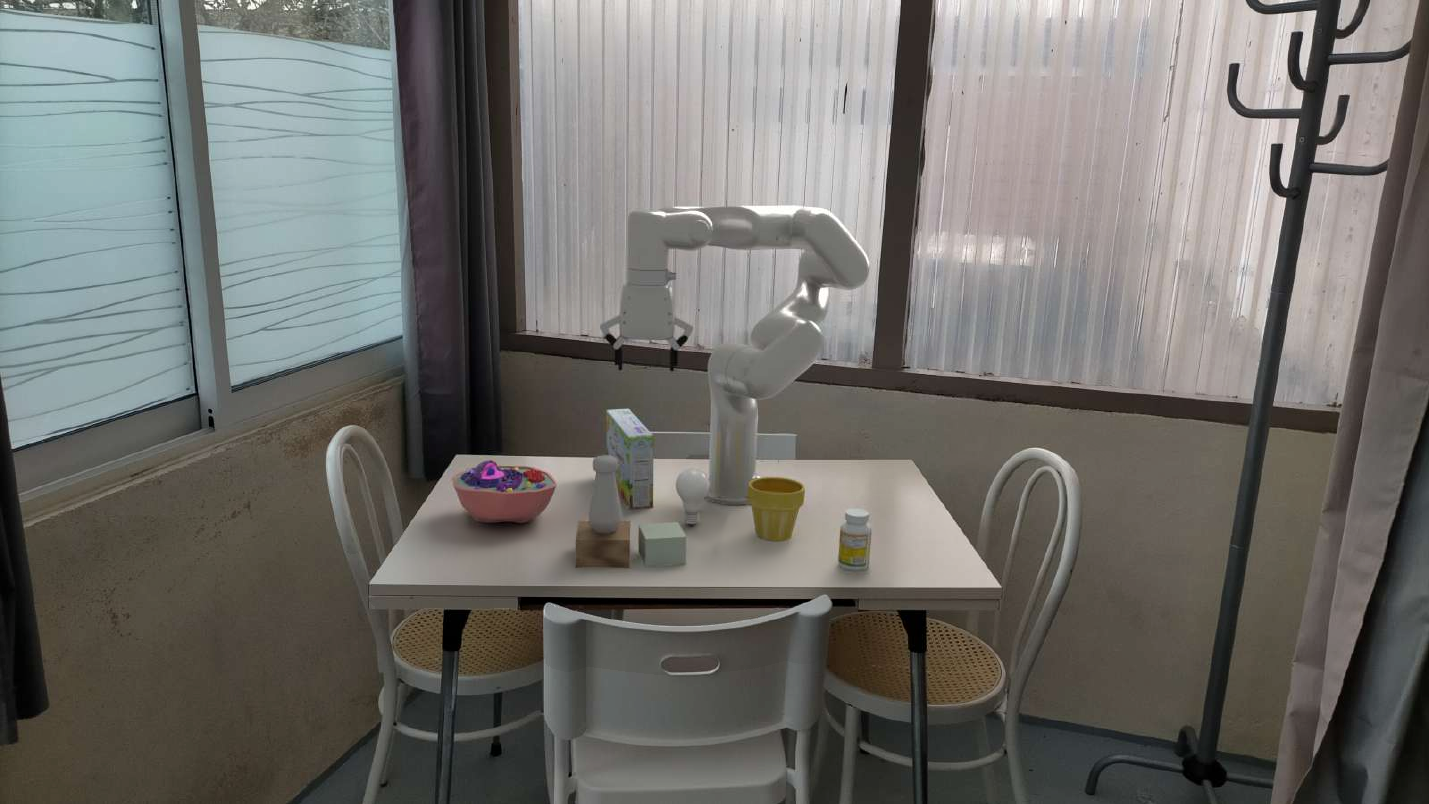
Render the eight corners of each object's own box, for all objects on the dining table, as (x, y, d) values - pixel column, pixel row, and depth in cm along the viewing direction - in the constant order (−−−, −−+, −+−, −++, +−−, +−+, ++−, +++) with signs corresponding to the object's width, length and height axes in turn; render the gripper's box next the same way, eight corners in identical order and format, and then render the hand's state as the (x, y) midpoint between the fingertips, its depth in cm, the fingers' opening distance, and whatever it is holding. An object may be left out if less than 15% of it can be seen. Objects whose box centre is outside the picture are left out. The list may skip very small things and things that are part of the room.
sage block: (677, 548, 181) (677, 522, 180) (685, 564, 175) (686, 536, 173) (638, 551, 179) (638, 524, 178) (645, 566, 173) (645, 539, 172)
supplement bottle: (858, 573, 173) (861, 520, 171) (831, 565, 176) (835, 512, 174) (874, 564, 177) (878, 512, 175) (848, 556, 180) (852, 505, 178)
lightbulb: (669, 521, 195) (671, 465, 192) (700, 517, 197) (702, 462, 194) (682, 532, 189) (683, 475, 186) (713, 528, 191) (715, 472, 189)
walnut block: (629, 547, 181) (630, 521, 180) (629, 567, 172) (629, 540, 171) (578, 547, 180) (578, 520, 179) (575, 567, 172) (575, 539, 170)
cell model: (528, 544, 181) (528, 483, 178) (433, 526, 188) (430, 468, 185) (573, 514, 197) (573, 457, 194) (483, 499, 203) (482, 444, 200)
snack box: (604, 477, 219) (604, 408, 216) (629, 475, 221) (630, 407, 217) (627, 510, 200) (628, 435, 196) (655, 508, 202) (656, 434, 198)
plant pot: (788, 522, 196) (791, 474, 193) (811, 542, 186) (814, 491, 184) (738, 527, 192) (740, 478, 190) (758, 547, 183) (760, 495, 181)
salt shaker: (624, 524, 178) (625, 453, 175) (619, 537, 172) (619, 463, 169) (591, 522, 178) (591, 451, 175) (584, 534, 173) (584, 461, 170)
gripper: (693, 276, 192) (691, 366, 197) (601, 274, 191) (600, 364, 195) (695, 282, 185) (693, 374, 189) (599, 279, 184) (599, 372, 188)
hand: (646, 369), depth 192 cm, fingers open, 9 cm apart
